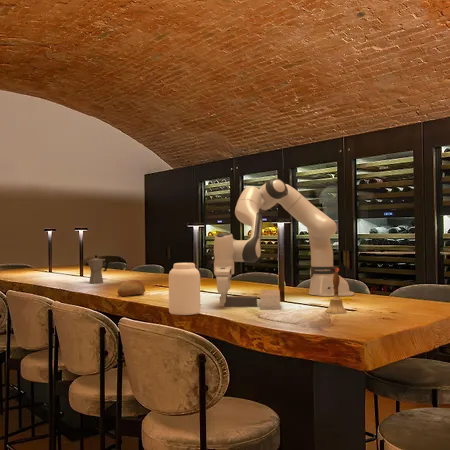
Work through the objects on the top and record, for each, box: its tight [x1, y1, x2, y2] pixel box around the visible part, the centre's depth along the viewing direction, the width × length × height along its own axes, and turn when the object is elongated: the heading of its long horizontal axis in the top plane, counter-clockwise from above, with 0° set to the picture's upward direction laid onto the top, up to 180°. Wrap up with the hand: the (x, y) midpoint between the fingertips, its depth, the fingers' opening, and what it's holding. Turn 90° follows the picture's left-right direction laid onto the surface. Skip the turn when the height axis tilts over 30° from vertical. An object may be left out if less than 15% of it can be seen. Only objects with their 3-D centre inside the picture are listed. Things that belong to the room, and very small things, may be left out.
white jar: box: [168, 262, 201, 316], centre depth 207 cm, size 12×12×20 cm
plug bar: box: [219, 295, 258, 308], centre depth 225 cm, size 16×4×4 cm, turn 85°
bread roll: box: [117, 279, 146, 298], centre depth 266 cm, size 10×15×8 cm, turn 127°
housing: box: [260, 289, 281, 311], centre depth 224 cm, size 8×20×6 cm, turn 175°
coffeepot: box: [85, 255, 110, 285], centre depth 336 cm, size 15×9×18 cm, turn 125°
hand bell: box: [325, 271, 348, 315], centre depth 205 cm, size 8×8×16 cm
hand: (224, 301), depth 225 cm, fingers closed on plug bar, 4 cm apart
